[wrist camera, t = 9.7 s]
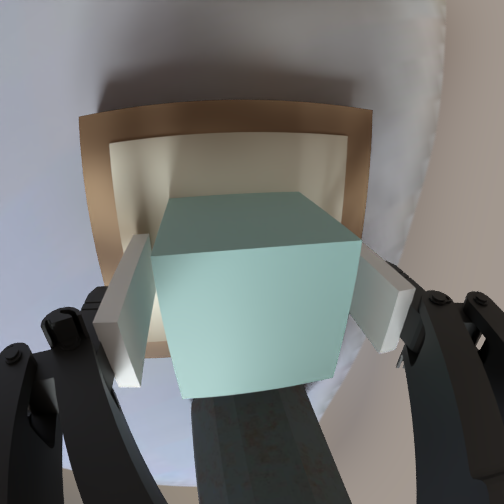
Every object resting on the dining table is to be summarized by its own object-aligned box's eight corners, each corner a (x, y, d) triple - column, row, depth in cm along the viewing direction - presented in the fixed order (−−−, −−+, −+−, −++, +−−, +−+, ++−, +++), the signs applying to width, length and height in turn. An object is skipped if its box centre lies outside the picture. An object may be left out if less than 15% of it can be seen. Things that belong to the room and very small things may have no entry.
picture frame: (95, 116, 13) (77, 116, 10) (349, 110, 15) (374, 110, 12) (133, 333, 19) (127, 360, 16) (329, 314, 21) (343, 336, 18)
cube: (169, 198, 13) (150, 256, 7) (298, 191, 14) (362, 240, 8) (182, 309, 15) (182, 399, 10) (292, 298, 16) (332, 377, 11)
